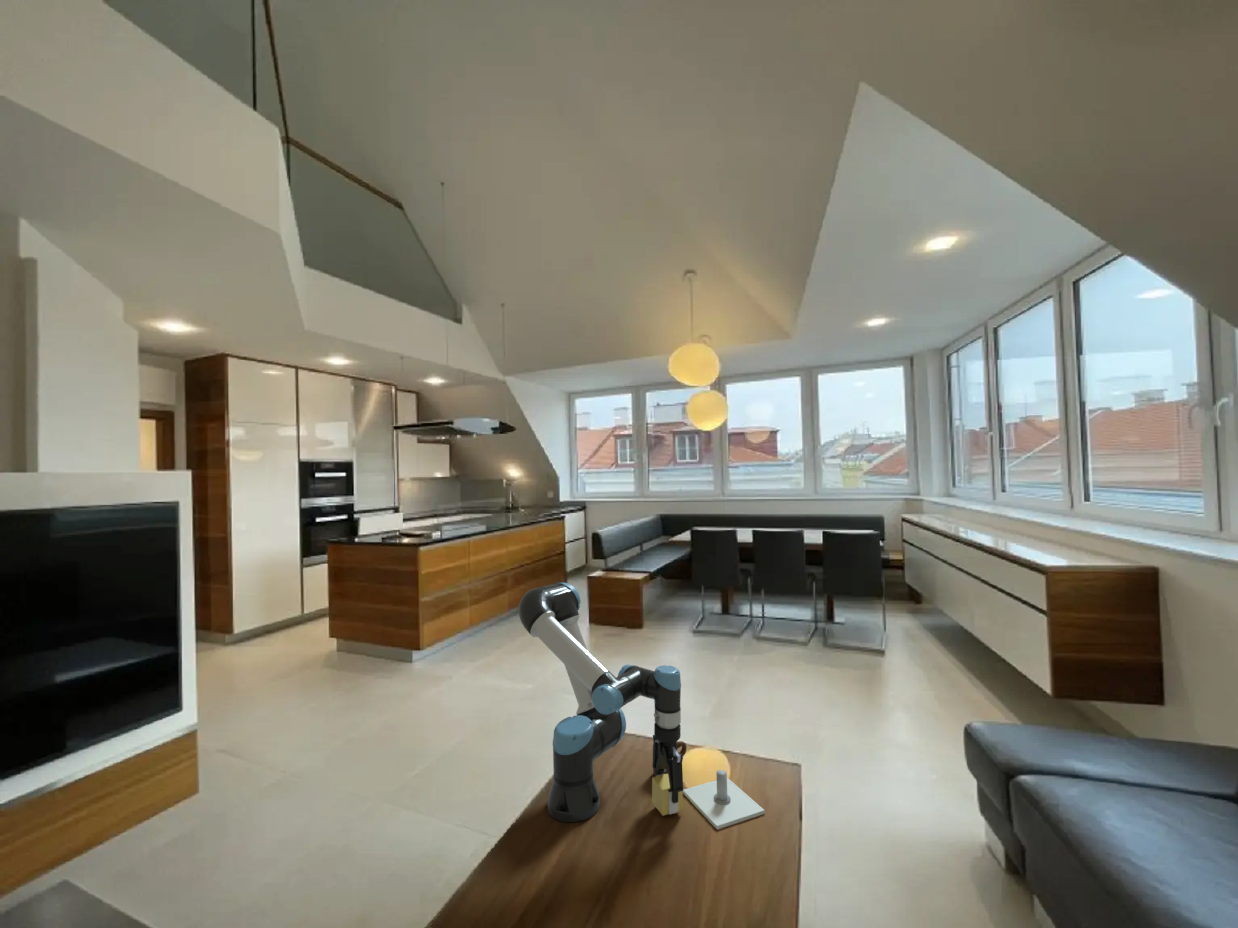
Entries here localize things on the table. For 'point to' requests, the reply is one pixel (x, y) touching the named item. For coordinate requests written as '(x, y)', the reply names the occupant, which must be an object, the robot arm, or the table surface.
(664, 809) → the pale yellow cube
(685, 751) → the mug
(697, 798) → the white square plate
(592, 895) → the table surface
